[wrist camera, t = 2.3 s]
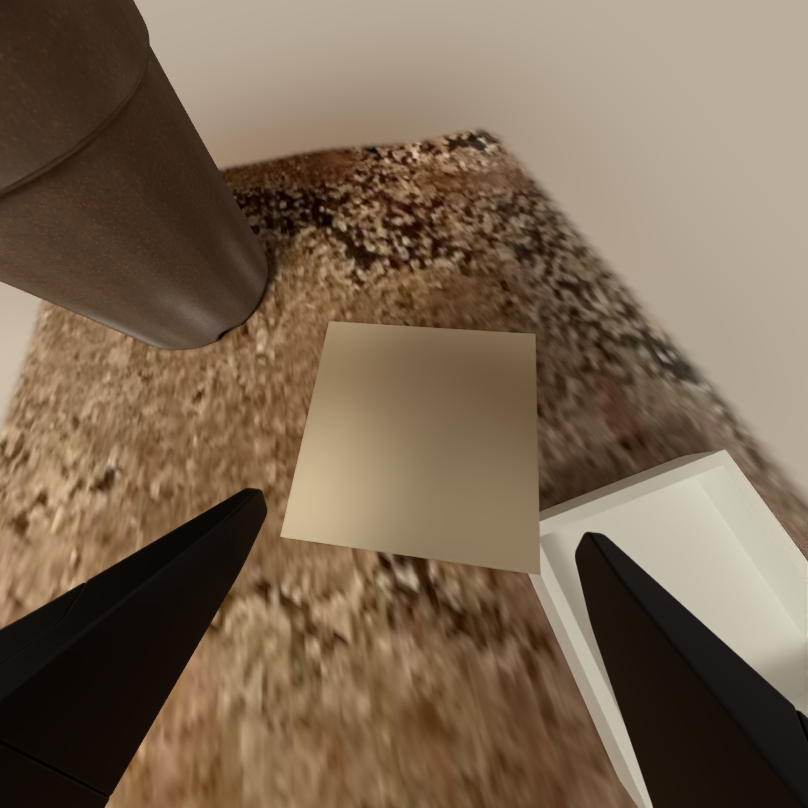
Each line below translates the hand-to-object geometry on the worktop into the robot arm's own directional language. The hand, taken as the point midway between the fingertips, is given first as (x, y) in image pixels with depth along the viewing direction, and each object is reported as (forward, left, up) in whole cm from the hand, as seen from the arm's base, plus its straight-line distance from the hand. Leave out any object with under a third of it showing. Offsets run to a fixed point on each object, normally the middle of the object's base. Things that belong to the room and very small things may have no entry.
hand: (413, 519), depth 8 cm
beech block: (+2, -1, -9) cm, 10 cm away
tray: (-8, -10, -9) cm, 16 cm away
